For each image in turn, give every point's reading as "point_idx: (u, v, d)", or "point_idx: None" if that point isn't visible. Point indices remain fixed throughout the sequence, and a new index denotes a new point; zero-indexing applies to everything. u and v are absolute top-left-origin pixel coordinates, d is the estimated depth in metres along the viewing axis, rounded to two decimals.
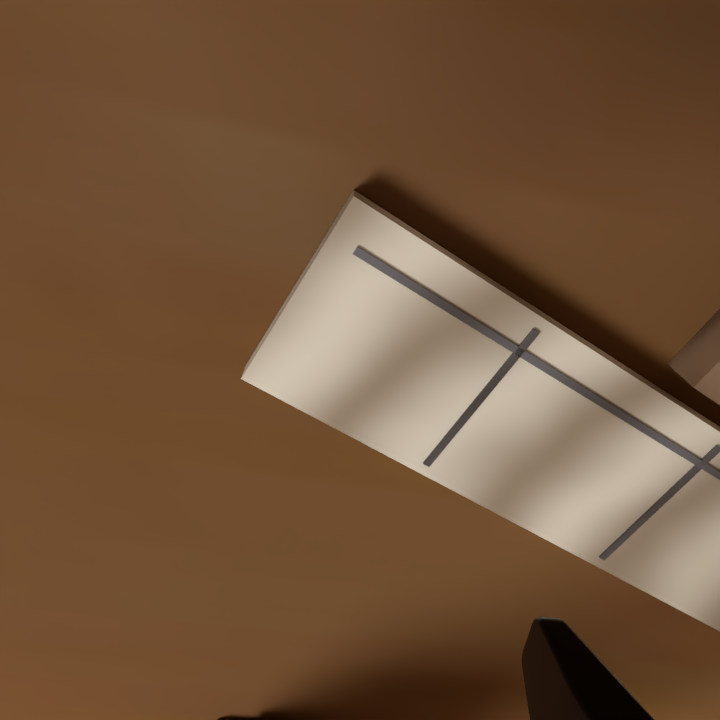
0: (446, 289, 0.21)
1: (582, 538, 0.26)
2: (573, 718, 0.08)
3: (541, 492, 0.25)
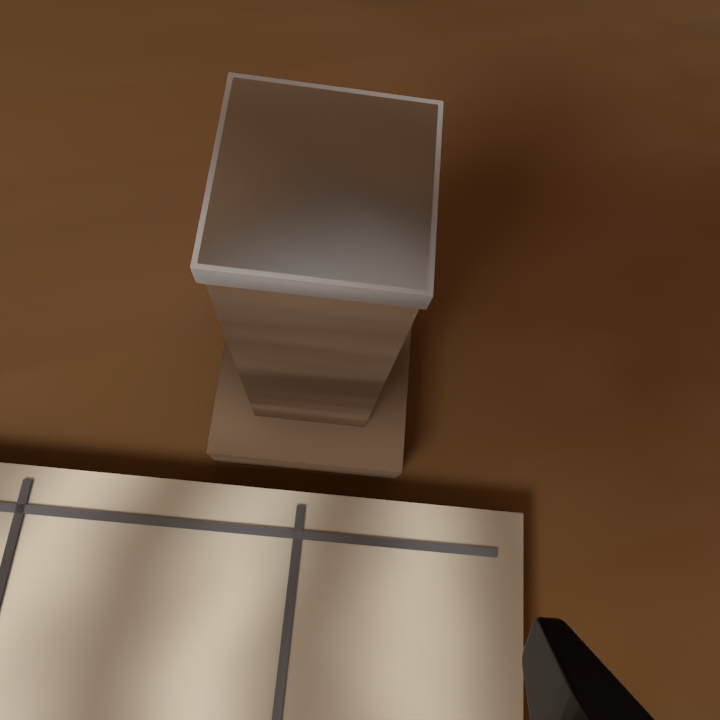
0: None
1: (231, 709, 0.19)
2: (573, 718, 0.08)
3: (138, 667, 0.19)
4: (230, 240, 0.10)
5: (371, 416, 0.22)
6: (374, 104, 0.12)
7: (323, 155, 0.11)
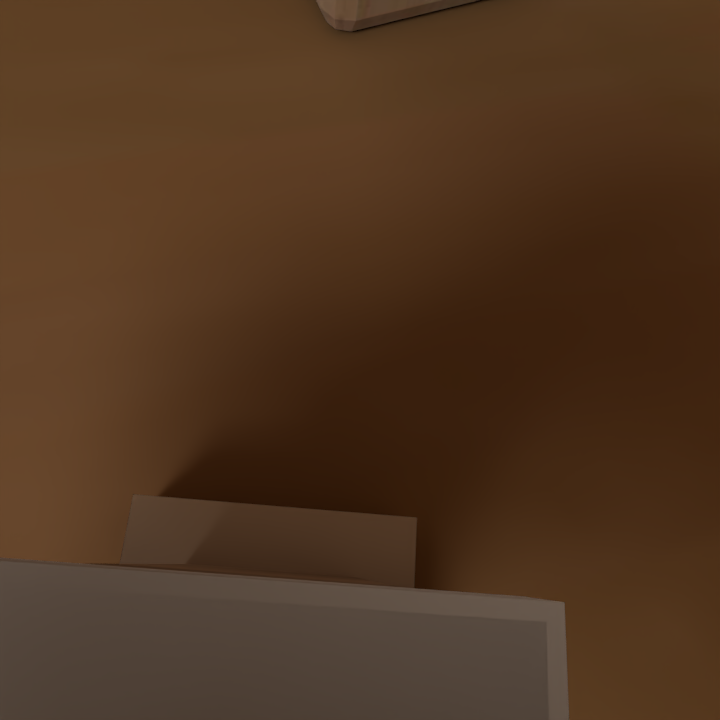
0: None
1: None
2: None
3: None
4: None
5: None
6: (298, 650, 0.03)
7: None
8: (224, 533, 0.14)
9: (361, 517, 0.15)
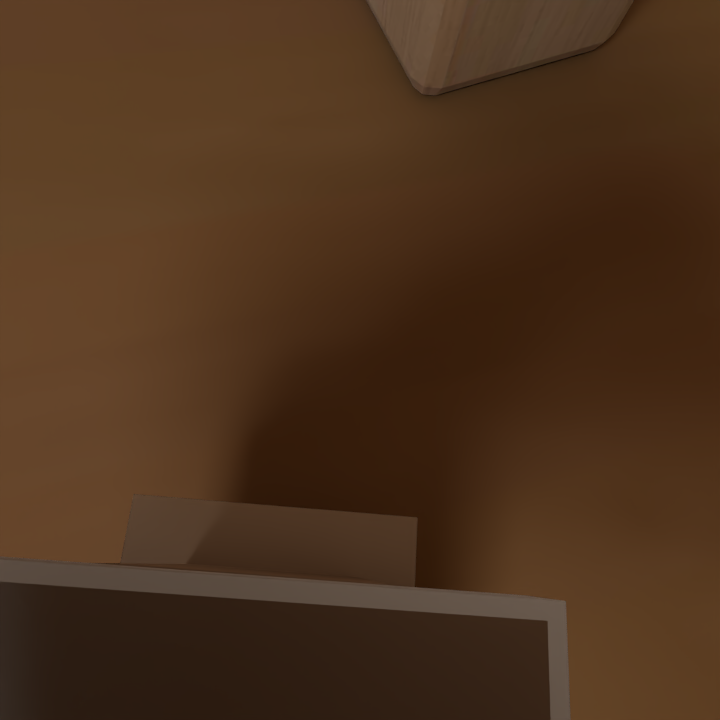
0: None
1: None
2: None
3: None
4: None
5: None
6: (300, 648, 0.03)
7: None
8: (225, 533, 0.14)
9: (362, 517, 0.15)
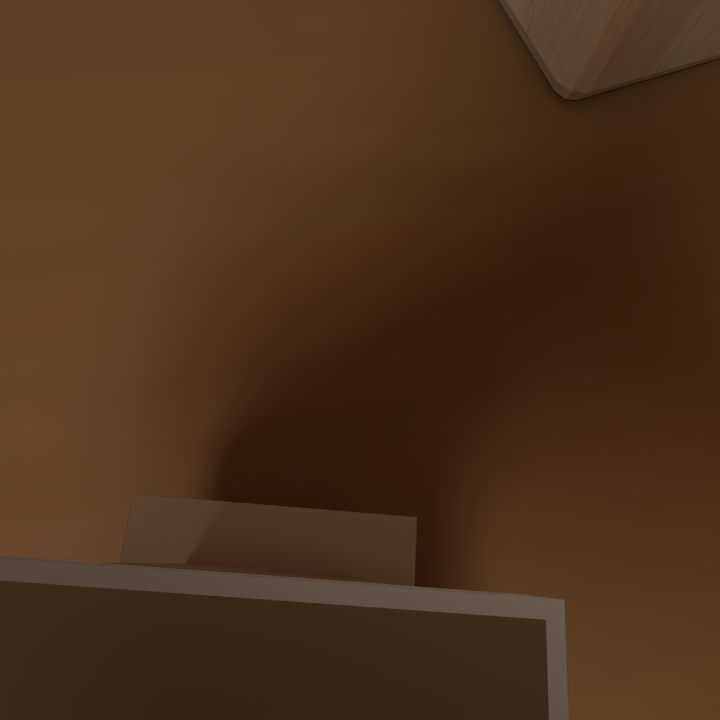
0: None
1: None
2: None
3: None
4: None
5: None
6: (298, 647, 0.03)
7: None
8: (224, 533, 0.14)
9: (361, 517, 0.15)
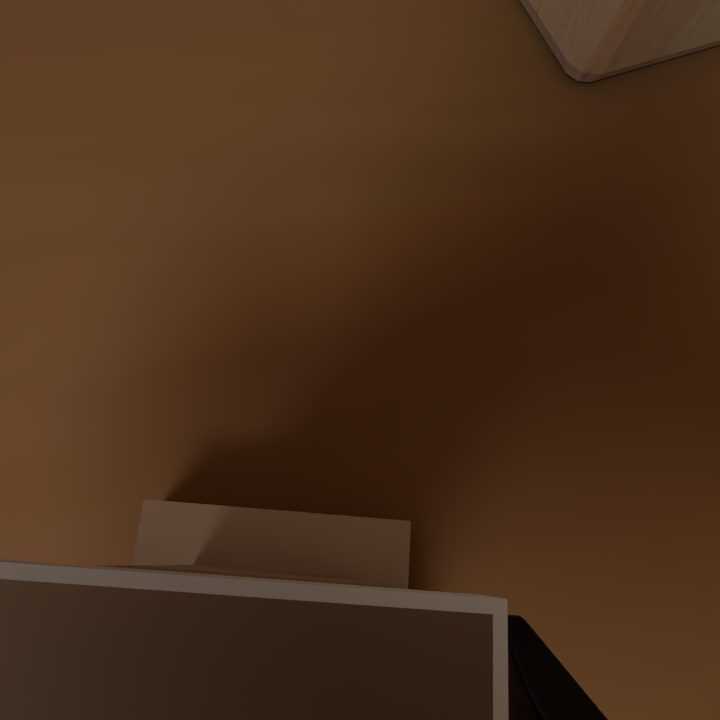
0: None
1: None
2: (525, 715, 0.08)
3: None
4: None
5: None
6: (302, 634, 0.04)
7: None
8: (229, 536, 0.15)
9: (358, 520, 0.16)
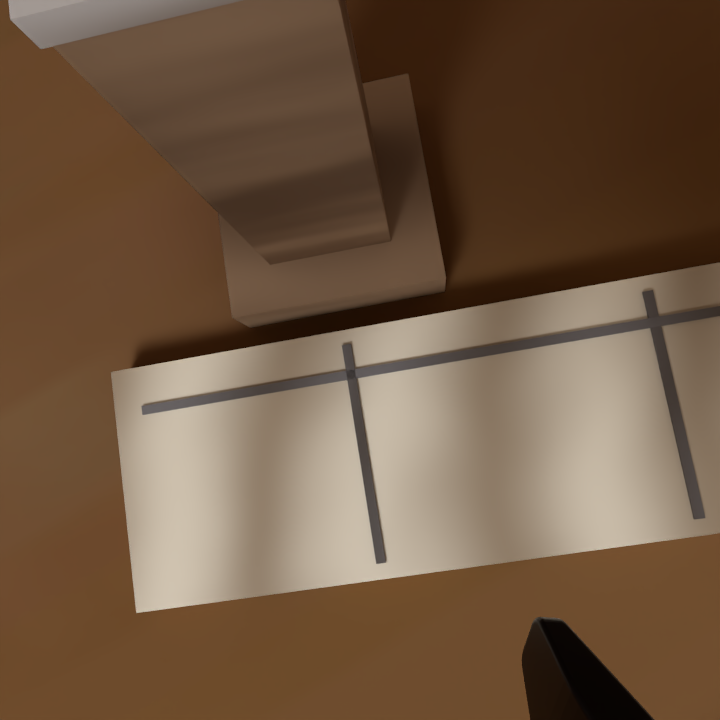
0: (240, 378, 0.20)
1: (645, 511, 0.18)
2: (573, 718, 0.08)
3: (531, 494, 0.18)
4: None
5: (396, 226, 0.19)
6: None
7: None
8: None
9: (367, 85, 0.20)
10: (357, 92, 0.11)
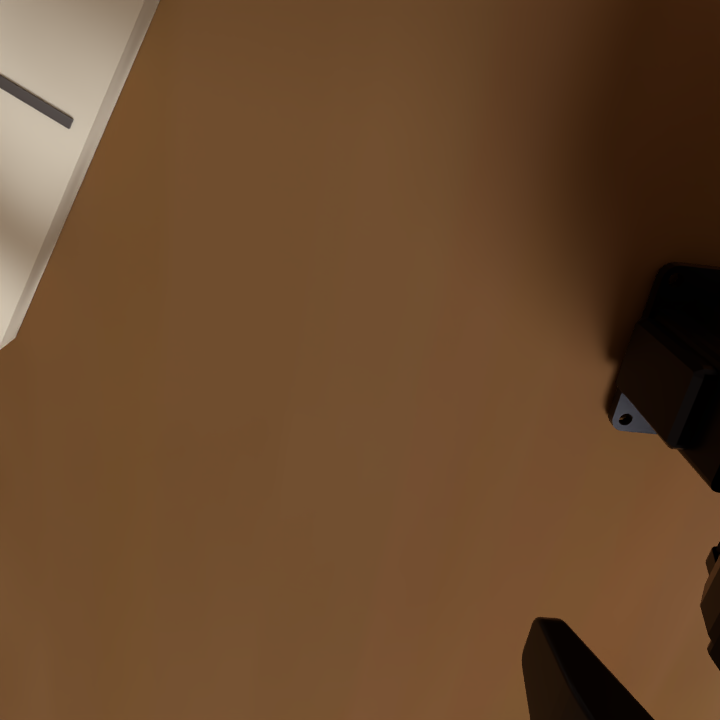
0: None
1: None
2: (573, 718, 0.08)
3: None
4: None
5: None
6: None
7: None
8: None
9: None
10: None
